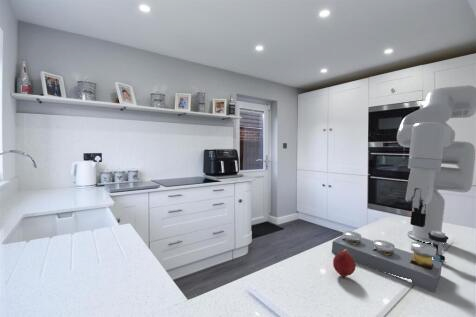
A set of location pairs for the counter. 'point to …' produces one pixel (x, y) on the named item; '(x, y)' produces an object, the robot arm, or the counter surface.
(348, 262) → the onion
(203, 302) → the counter surface
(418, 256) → the knob
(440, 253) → the push button
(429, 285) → the knob panel
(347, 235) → the knob
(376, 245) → the knob middle
